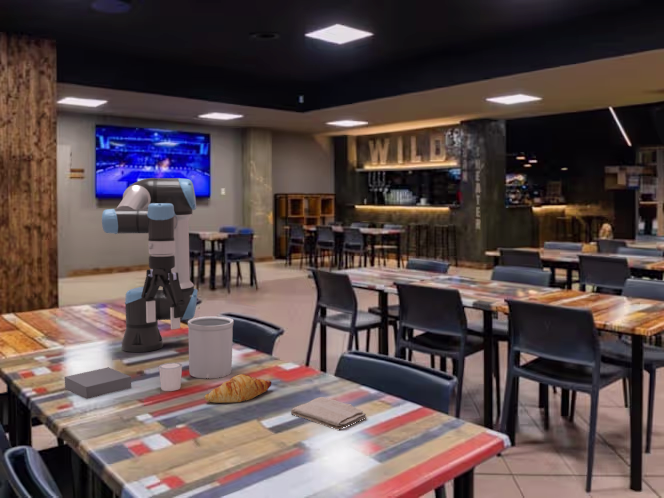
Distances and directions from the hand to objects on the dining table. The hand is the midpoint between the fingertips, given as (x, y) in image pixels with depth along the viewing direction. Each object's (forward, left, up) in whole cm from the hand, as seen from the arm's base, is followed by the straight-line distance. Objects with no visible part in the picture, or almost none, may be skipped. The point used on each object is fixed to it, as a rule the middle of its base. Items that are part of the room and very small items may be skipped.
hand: (162, 325), depth 181 cm
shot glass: (-2, +1, -20) cm, 20 cm away
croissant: (-10, +23, -20) cm, 32 cm away
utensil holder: (-20, -3, -20) cm, 28 cm away
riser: (+13, -15, -20) cm, 28 cm away
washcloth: (-17, +52, -20) cm, 59 cm away
